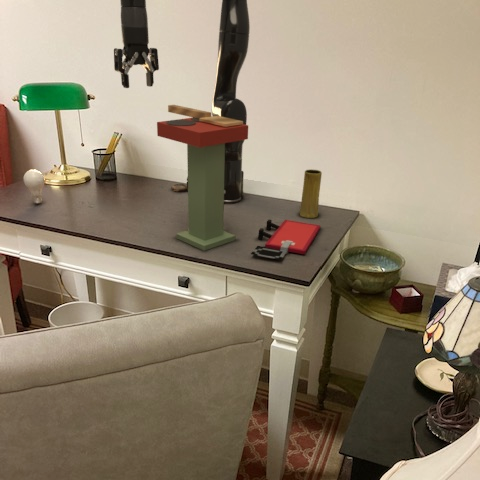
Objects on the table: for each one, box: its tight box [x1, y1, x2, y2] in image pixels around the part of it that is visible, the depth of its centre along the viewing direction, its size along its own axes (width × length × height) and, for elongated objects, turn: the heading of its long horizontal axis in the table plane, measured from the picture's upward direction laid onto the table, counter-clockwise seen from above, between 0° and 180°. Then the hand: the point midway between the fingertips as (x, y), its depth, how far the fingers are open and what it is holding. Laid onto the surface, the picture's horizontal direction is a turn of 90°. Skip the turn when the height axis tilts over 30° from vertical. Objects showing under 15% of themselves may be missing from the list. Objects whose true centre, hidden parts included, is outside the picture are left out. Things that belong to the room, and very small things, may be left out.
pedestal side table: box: [156, 117, 249, 251], centre depth 145 cm, size 18×17×31 cm
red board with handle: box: [250, 219, 321, 260], centre depth 150 cm, size 30×3×15 cm
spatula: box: [167, 104, 243, 127], centre depth 143 cm, size 26×6×2 cm, turn 45°
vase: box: [298, 169, 322, 219], centre depth 168 cm, size 6×6×14 cm
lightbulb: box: [22, 169, 46, 205], centre depth 169 cm, size 6×6×11 cm
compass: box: [171, 176, 188, 193], centre depth 188 cm, size 8×8×7 cm
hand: (138, 87), depth 158 cm, fingers open, 8 cm apart
